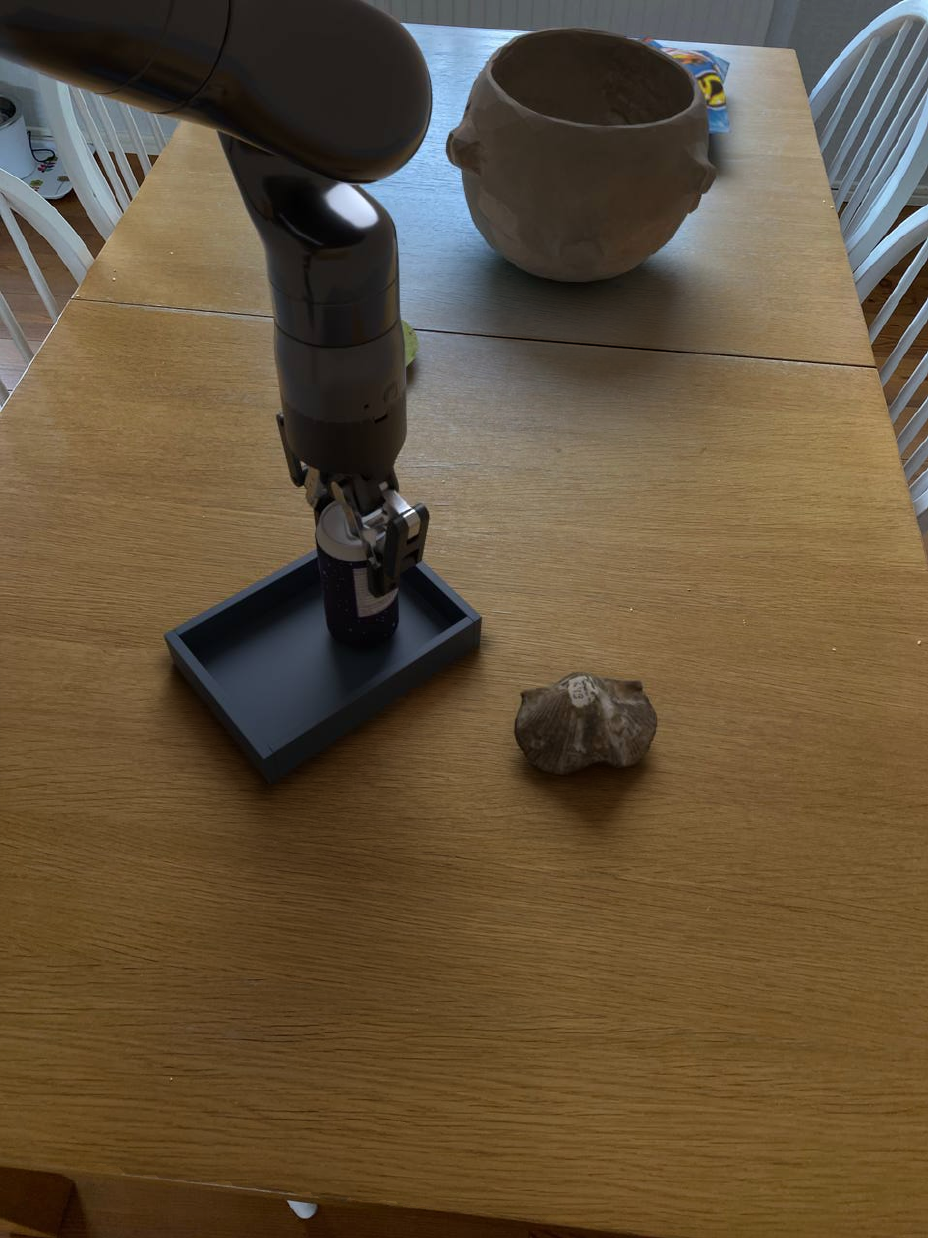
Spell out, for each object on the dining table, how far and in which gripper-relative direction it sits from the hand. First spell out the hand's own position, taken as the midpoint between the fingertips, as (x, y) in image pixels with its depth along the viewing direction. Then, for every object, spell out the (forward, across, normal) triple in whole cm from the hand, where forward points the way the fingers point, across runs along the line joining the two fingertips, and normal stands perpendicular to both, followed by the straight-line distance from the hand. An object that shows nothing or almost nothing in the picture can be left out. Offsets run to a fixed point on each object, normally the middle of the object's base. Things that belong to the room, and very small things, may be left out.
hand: (357, 563), depth 70 cm
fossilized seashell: (+9, +18, +7) cm, 21 cm away
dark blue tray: (+8, 0, -3) cm, 9 cm away
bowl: (+8, -29, +51) cm, 59 cm away
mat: (+8, -28, +21) cm, 36 cm away
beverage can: (+8, 0, 0) cm, 8 cm away
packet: (+8, -45, +84) cm, 95 cm away
